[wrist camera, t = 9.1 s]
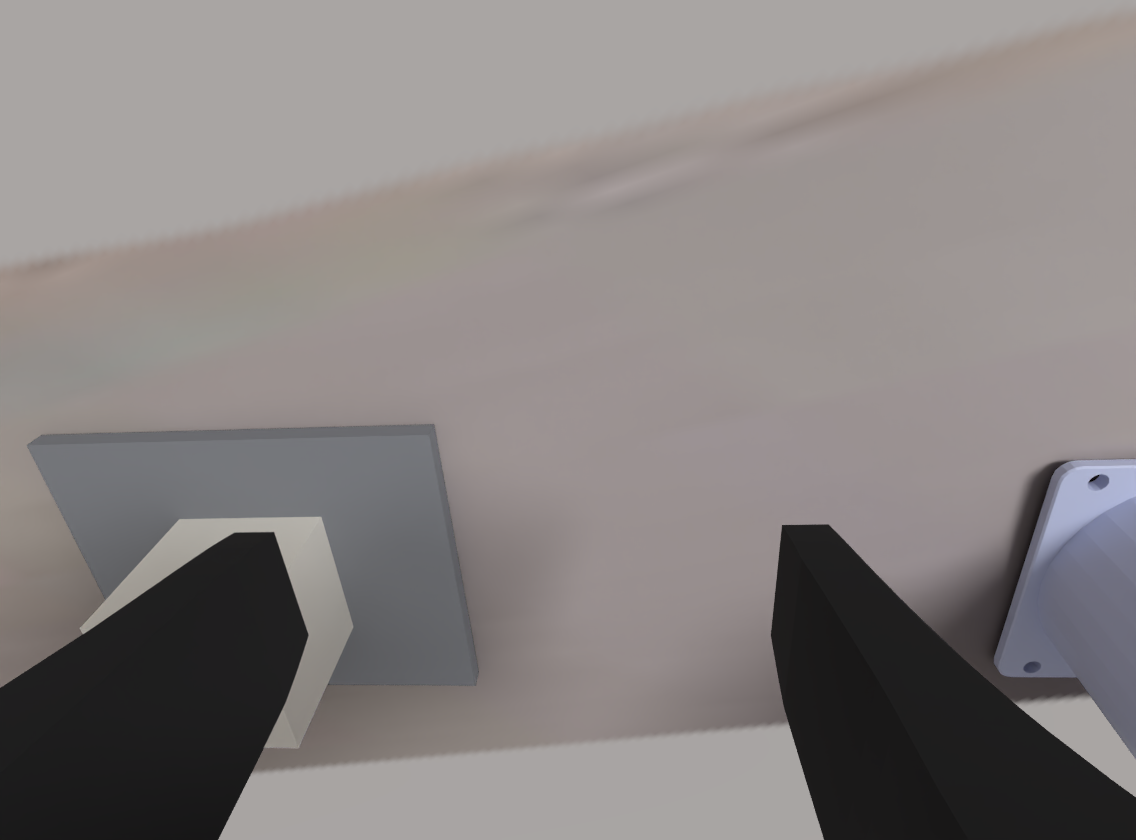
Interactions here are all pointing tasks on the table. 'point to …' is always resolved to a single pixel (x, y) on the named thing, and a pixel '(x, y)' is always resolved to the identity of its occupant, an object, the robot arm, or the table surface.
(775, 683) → the table surface
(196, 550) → the cream cube
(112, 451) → the gray mat
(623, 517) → the table surface
